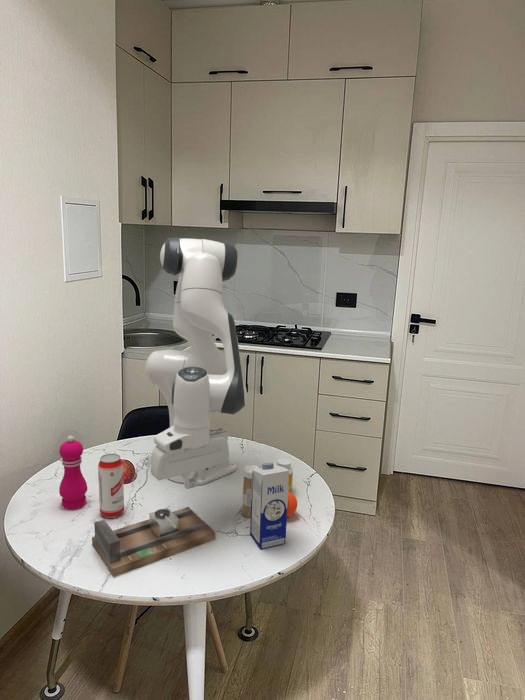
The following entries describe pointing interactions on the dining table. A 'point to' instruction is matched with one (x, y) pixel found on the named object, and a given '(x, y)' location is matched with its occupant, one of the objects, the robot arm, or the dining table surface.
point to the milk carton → (269, 505)
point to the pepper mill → (72, 475)
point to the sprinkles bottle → (247, 489)
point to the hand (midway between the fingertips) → (190, 486)
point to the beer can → (111, 485)
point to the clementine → (291, 504)
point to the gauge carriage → (163, 522)
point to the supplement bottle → (287, 464)
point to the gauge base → (147, 541)
